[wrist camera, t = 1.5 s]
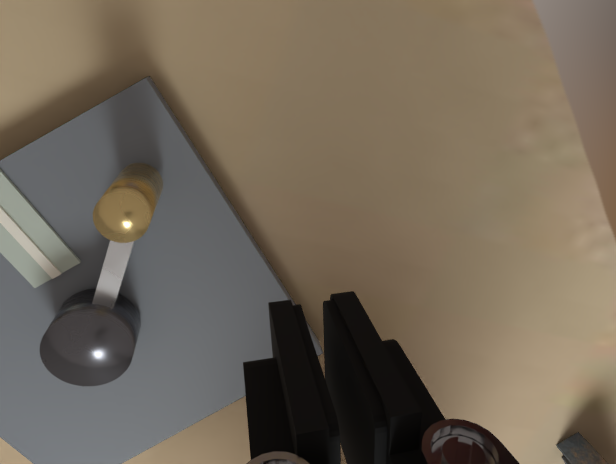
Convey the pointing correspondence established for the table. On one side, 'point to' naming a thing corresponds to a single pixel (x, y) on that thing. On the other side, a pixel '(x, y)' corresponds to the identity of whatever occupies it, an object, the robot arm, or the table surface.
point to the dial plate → (125, 286)
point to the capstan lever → (105, 290)
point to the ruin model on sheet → (579, 451)
